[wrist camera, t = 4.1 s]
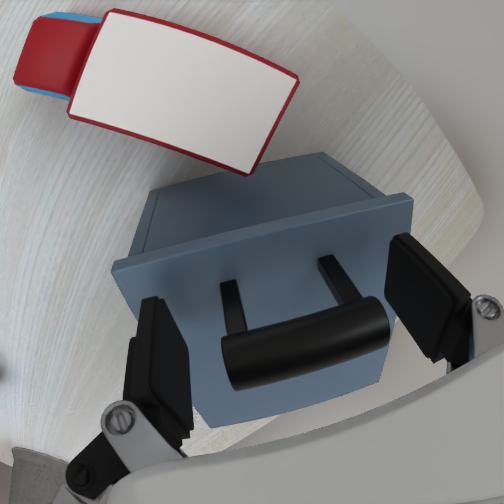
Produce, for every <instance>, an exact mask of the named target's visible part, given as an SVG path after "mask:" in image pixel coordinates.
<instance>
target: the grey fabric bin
mask: <svg viewBox="0 0 504 504" xmlns="http://www.w3.org/2000/svg"><path fill="white" fill-rule="evenodd" d="M12 453H13V458H14V463H13V470H12V478H11V487H10V497H9V504H50V502H51V501H52V499H53V497H54V496H55V494H56V493H57V491H58V490H59V488H60V486H61V485H63V486H65V485H66V478H65V473H66V469H67V466H68V465H69V463H66V462H64V461H61V460H59V459H56V458H53V457H50V456H48V455H45V454H41V453H38V452H35V451H32V450H27V449H23V448H13V449H12Z"/></svg>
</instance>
